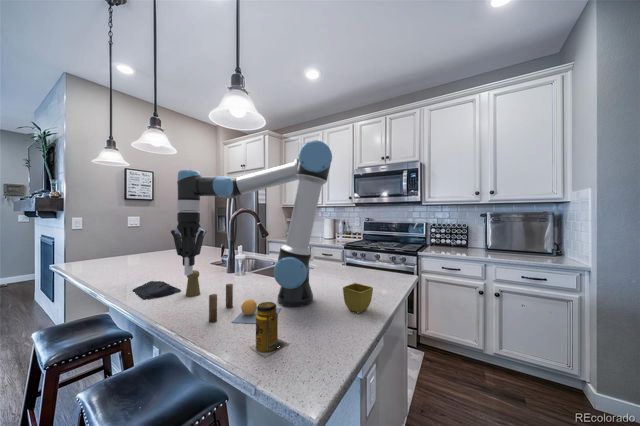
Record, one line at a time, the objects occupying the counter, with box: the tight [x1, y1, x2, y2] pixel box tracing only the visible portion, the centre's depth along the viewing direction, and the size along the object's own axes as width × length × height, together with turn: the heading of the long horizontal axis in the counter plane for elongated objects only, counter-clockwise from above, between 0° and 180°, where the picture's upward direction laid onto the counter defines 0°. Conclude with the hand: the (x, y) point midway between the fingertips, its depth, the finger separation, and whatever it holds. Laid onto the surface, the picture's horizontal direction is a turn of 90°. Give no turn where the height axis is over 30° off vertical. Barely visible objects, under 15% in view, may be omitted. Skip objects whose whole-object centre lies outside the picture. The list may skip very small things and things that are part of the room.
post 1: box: [208, 293, 218, 324], centre depth 85 cm, size 3×3×9 cm
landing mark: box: [231, 307, 282, 325], centre depth 90 cm, size 14×14×1 cm
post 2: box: [225, 283, 234, 309], centre depth 98 cm, size 3×3×9 cm
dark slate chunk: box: [131, 280, 182, 301], centre depth 117 cm, size 15×22×5 cm
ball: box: [240, 299, 258, 315], centre depth 91 cm, size 6×6×6 cm
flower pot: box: [342, 282, 374, 314], centre depth 96 cm, size 9×9×9 cm
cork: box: [185, 269, 201, 298], centre depth 112 cm, size 6×6×11 cm
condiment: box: [249, 301, 290, 358], centre depth 70 cm, size 7×8×12 cm
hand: (188, 274), depth 93 cm, fingers closed
